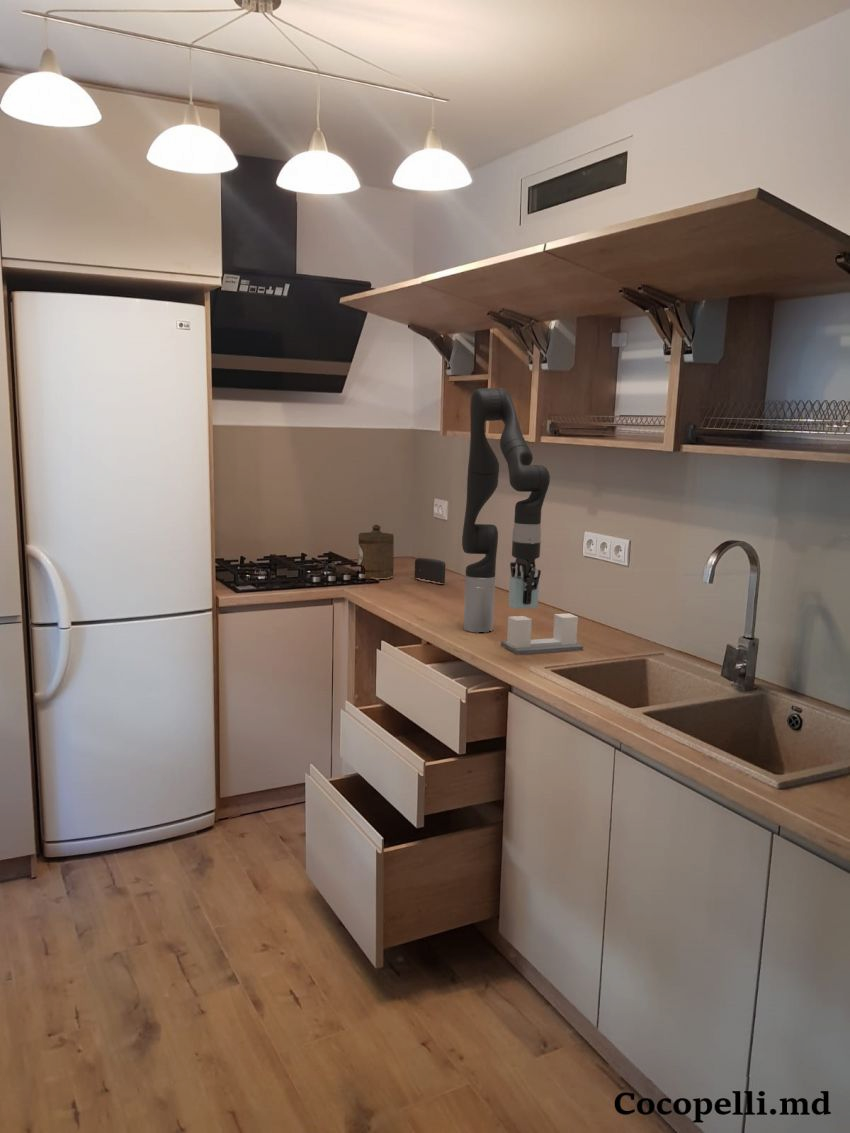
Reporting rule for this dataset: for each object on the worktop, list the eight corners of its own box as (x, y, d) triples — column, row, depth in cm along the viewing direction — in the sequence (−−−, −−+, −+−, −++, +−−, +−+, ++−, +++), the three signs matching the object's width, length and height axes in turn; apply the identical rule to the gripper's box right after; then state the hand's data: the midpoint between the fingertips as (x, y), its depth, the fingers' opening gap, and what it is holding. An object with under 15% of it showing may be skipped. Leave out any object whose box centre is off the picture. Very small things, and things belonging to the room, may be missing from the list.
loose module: (508, 605, 230) (509, 577, 229) (531, 604, 233) (532, 576, 231) (514, 608, 227) (515, 579, 225) (537, 607, 229) (539, 578, 228)
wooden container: (364, 573, 361) (365, 522, 358) (397, 575, 358) (399, 524, 354) (352, 579, 347) (353, 525, 344) (387, 581, 343) (388, 527, 340)
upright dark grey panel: (450, 584, 341) (451, 561, 340) (442, 586, 338) (443, 562, 336) (421, 579, 352) (421, 556, 351) (413, 580, 349) (414, 557, 347)
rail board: (500, 645, 247) (502, 614, 245) (563, 641, 254) (565, 611, 253) (517, 655, 237) (519, 622, 235) (583, 650, 244) (584, 619, 242)
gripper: (502, 536, 232) (499, 597, 235) (526, 544, 219) (522, 608, 222) (526, 536, 234) (523, 596, 237) (551, 543, 221) (548, 607, 224)
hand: (523, 602), depth 229 cm, fingers closed on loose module, 3 cm apart
